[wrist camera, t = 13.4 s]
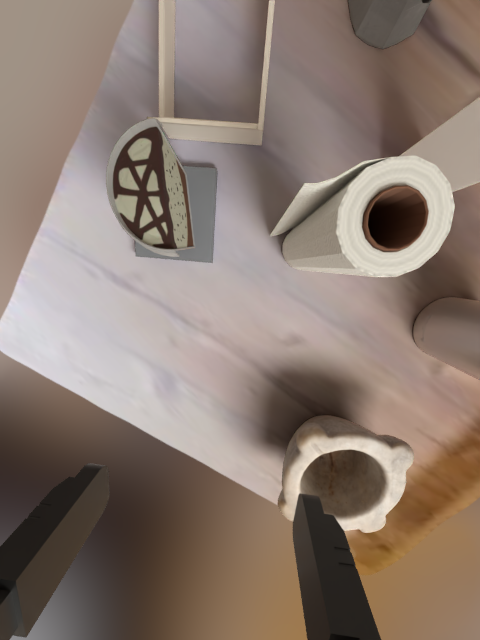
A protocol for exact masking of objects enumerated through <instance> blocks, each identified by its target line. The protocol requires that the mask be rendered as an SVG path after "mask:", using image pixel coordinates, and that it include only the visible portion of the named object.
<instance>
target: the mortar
mask: <svg viewBox="0 0 480 640" xmlns="http://www.w3.org/2000/svg"><path fill="white" fill-rule="evenodd" d="M413 460H414V453H413V450H412V449H411V447H410V446H409V445H408V444H407V443H406V442H404V441H402V440H400V439H398V438H396V437H393V436H389V435H376V434H375V433H373V432H371V431H370V430H368V429H366V428H364V427H362V426H360V425H358V424H356V423H354V422H351V421H349V420H346V419H343V418H339V417H335V416H330V415H320V416H315V417H313V418H310V419H309V420H307V421H306V422H304V423H303V424H302V425H301V426H300V427H299V428H298V429H297V430H296V432H295V433H294V435H293V436H292V438H291V440H290V442H289V445H288V447H287V450H286V454H285V458H284V463H283V472H282V488H283V489H282V491H281V493H280V495H279V498H278V507H279V509H280V511H281V513H282V514H283V516H284V517H286V518H287V519H288V520H290V521H293V520H294V515H295V510H296V505H297V500H298V495H299V493H301V494H308V495H316V496H319V498H320V500H321V504H322V507H323V511H324V514H330V515H334V517H335V518H336V520H337V521H338V523H339V524H340V526H341V527H342V529H343V530H345V531H348V530H355V529H360V530H361V531H362V532H365V533H370V532H374V531H378V530H380V529H381V528H383V527H384V525H385V523H386V516H385V515H386V514H387V513H388V512H389V511H390V510H391V509H392V508H393V507H394V506H395V505H396V504H397V503H398V501H399V500H400V498H401V496H402V494H403V492H404V488H405V484H406V470H407V469H408V468H409V467H410V466H411V465H412V463H413Z"/></svg>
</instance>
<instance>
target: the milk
mask: <svg viewBox="0 0 480 640" xmlns="http://www.w3.org/2000/svg"><path fill="white" fill-rule="evenodd" d="M400 156H418V157H420V158H422V159H424V160H426V161H428V162H431V163H433V164H435V165H437V167H438V168H439V169H440V171H441V172H442V173H443V175H444V176H445V177H446V178H447V180H448V181H449V182H450V185H451V190H452V192H454V191H457V190H460V189H463V188H465V187H468V186H471V185H474V184H476V183H479V182H480V97H479V98H477V99H476V100H475V101H473V102H472V103H470V104H469V105H468V106H466V107H465V108H464V109H462V110H461V111H460V112H458V113H457V114H455V115H454V116H453V117H451V118H450V119H449V120H447V121H446V122H445V123H443V124H442V125H441V126H439V127H438V128H436V129H435V130H434V131H432V132H431V133H430V134H428V135H427V136H426V137H424V138H423V139H421V140H420V141H419V142H417V143H416V144H415V145H413V146H412V147H411V148H409V149H408V150H407V151H405V152H404V153H402V154H401V155H400ZM400 156H398V157H400Z"/></svg>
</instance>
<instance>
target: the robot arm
mask: <svg viewBox="0 0 480 640" xmlns="http://www.w3.org/2000/svg"><path fill="white" fill-rule="evenodd" d="M413 336H414V340H415V343H416V344H417V346H418V347H419V348H420V349H421V350H422V351H423V352H425V353H427V354H429V355H431V356H433V357H435V358H437V359H439V360H441V361H443V362H445V363H446V364H448V365H450V366H452V367H454V368H456V369H458V370H460V371H462V372H464V373H466V374H468V375H470V376H472V377H474V378H476V379H478V380H480V301H477V300H470V299H464V298H456V297H447V298H442V299H439V300H436V301H434V302H432V303H431V304H429V305H428V306H427V307H425V308H424V309H423V310H422V311H421V313H420V314H419V316H418V317H417V319H416V321H415V324H414V329H413ZM108 499H109V476H108V467H107V466H104V465H97V464H87V465H86V466H84V467H83V469H82V470H81V471H80V472H79V473H78V474H77V476H76V477H75V478H73V477H68V478H67V479H66V480H64V481H63V482H61V483H60V484H59V485H58V486H56V487H54V488H53V489H52V490H51V491H50V492H49V494H48V495H47V496H46V497H45V498H44V499H43V500H42V501H41V502H40V505H39V506H37V507H36V508H35V509H34V510H33V511H32V512H31V513H30V515H29V516H28V518H27V519H25V520H24V521H23V522H22V524H20V526H19V527H18V528H17V529H16V530H15V531H14V532H13V533H12V535H10V537H9V538H8V539H7V540H6V541H5V542H4V543H3V545H1V546H0V640H9V639H10V638H11V637H12V635H15V636H21V637H27V635H28V633H29V632H30V630H31V629H32V627H33V625H34V624H35V622H36V621H37V619H38V617H39V616H40V614H41V613H42V611H43V609H44V608H45V606H46V604H47V603H48V601H49V600H50V598H51V596H52V595H53V593H54V591H55V590H56V588H57V586H58V585H59V583H60V582H61V580H62V578H63V577H64V575H65V574H66V572H67V570H68V569H69V567H70V565H71V564H72V562H73V561H74V559H75V557H76V556H77V554H78V552H79V551H80V549H81V547H82V546H83V544H84V543H85V541H86V539H87V538H88V536H89V534H90V533H91V531H92V530H93V528H94V526H95V525H96V523H97V521H98V520H99V518H100V517H101V515H102V513H103V512H104V509H105V507H106V505H107V502H108ZM293 542H294V549H295V556H296V563H297V570H298V577H299V583H300V590H301V598H302V605H303V612H304V619H305V625H306V632H307V639H308V640H381V638H380V635H379V633H378V630H377V627H376V624H375V621H374V618H373V615H372V612H371V609H370V606H369V603H368V600H367V597H366V594H365V591H364V588H363V586H362V583H361V580H360V577H359V574H358V571H357V569H356V567H355V562H354V559H353V556H352V553H351V552H350V547H349V544H348V542H347V539H346V536H345V533H344V530H343V529H342V527H341V526H340V524H339V523H338V521H337V520H336V518H335V517H334V515H330V514H324V511H323V507H322V504H321V500H320V498H319V496H316V495H308V494H301V493H299V495H298V500H297V505H296V510H295V515H294V520H293Z"/></svg>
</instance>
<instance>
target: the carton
mask: <svg viewBox="0 0 480 640" xmlns="http://www.w3.org/2000/svg"><path fill="white" fill-rule="evenodd" d="M274 4H275V0H269V6H268V18H267V29H266V41H265V52H264V64H263V75H262V87H261V98H260V110H259V121H258V124H257V123H243V122H229V121H215V120H201V119H187V118H174V76H175V0H159V118H156V117H147V119H151V118H155V119H158V120H159V121H160V122H161V123H162V125H163V127H162V128H163V130H164V131H165V133H166V134H167V136H168V138H169V139H180V140H194V141H207V142H221V143H234V144H248V145H262V135H263V124H264V113H265V102H266V91H267V80H268V69H269V58H270V48H271V37H272V26H273V15H274Z"/></svg>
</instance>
